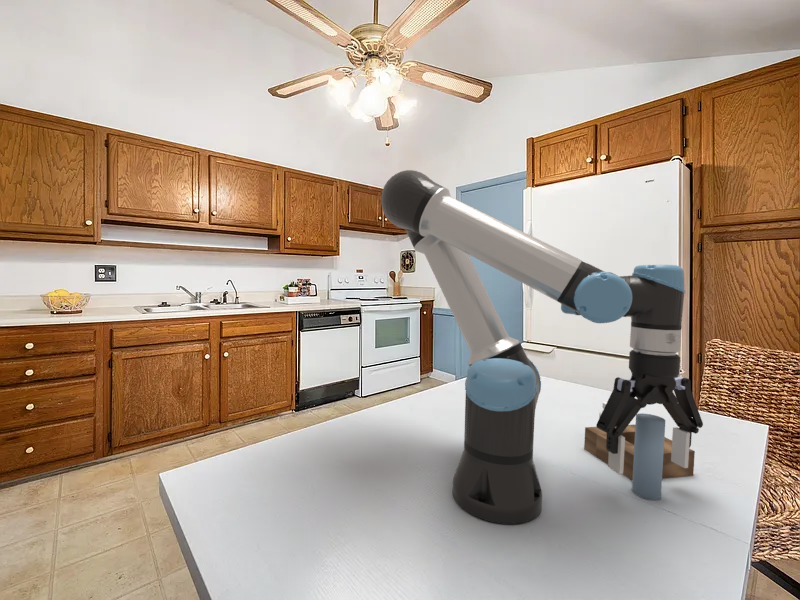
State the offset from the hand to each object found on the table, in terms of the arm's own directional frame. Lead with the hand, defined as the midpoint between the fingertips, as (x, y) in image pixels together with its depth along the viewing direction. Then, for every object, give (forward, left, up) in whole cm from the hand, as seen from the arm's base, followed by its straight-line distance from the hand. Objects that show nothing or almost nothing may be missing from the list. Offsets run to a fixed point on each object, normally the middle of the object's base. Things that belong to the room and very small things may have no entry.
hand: (648, 467), depth 67 cm
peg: (0, 0, -5) cm, 5 cm away
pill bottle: (+10, +21, -6) cm, 24 cm away
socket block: (+8, +11, -5) cm, 14 cm away
